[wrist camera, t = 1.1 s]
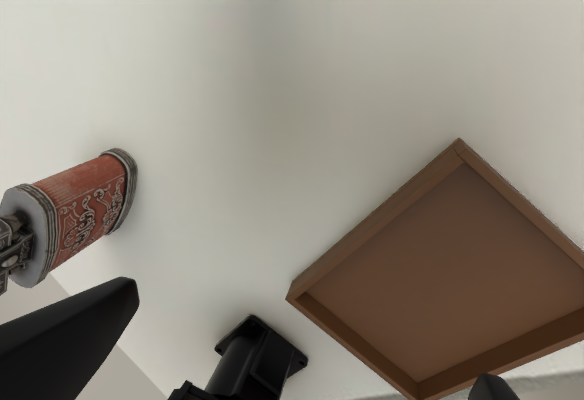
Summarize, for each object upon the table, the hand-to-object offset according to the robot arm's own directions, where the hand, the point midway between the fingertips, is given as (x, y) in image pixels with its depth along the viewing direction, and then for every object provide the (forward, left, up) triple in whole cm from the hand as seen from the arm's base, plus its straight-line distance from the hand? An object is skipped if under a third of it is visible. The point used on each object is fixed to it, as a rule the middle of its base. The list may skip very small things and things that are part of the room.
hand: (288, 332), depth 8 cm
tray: (-2, -10, -13) cm, 17 cm away
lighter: (-14, +12, -13) cm, 23 cm away
